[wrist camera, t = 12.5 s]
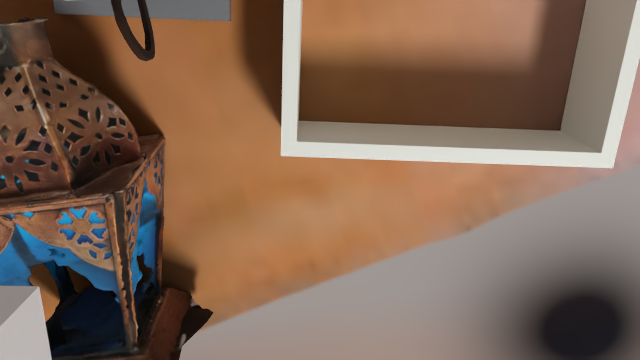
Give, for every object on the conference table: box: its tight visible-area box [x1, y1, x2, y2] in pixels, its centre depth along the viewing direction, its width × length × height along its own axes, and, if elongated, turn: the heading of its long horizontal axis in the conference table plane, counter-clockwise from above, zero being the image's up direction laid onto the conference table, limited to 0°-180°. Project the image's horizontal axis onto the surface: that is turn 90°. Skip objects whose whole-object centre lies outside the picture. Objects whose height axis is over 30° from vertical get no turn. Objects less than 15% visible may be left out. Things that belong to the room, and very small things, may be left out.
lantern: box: [0, 17, 213, 360], centre depth 35 cm, size 16×16×25 cm
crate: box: [281, 0, 640, 168], centre depth 34 cm, size 22×18×6 cm
